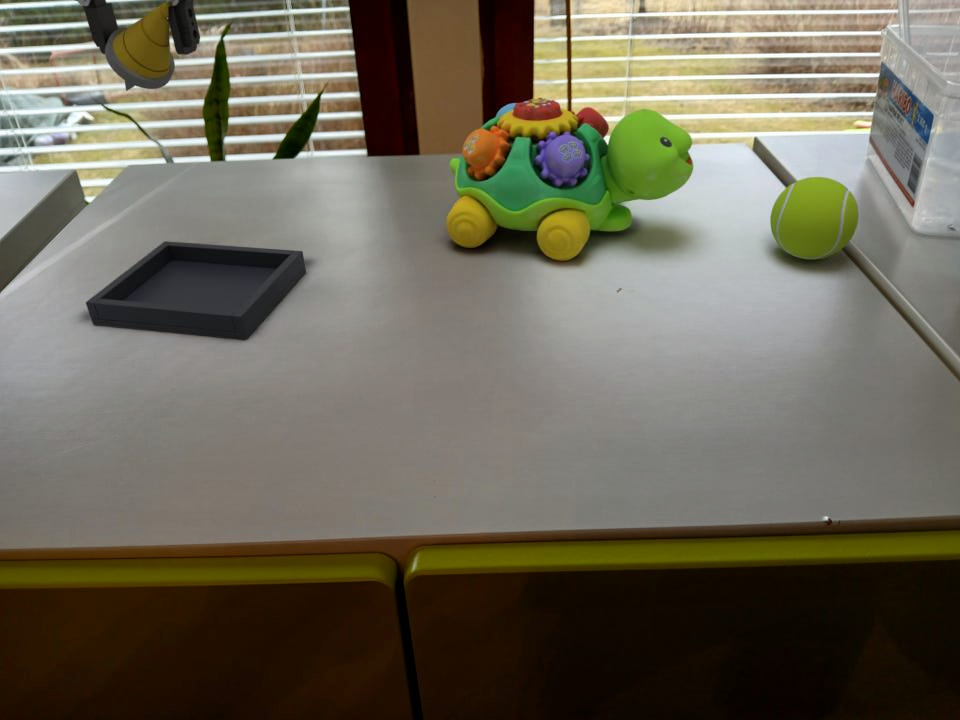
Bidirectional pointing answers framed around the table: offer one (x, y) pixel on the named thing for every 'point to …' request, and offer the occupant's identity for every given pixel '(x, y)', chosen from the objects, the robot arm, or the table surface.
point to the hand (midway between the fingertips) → (149, 52)
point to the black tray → (199, 289)
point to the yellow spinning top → (143, 51)
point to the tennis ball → (814, 218)
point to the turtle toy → (562, 173)
